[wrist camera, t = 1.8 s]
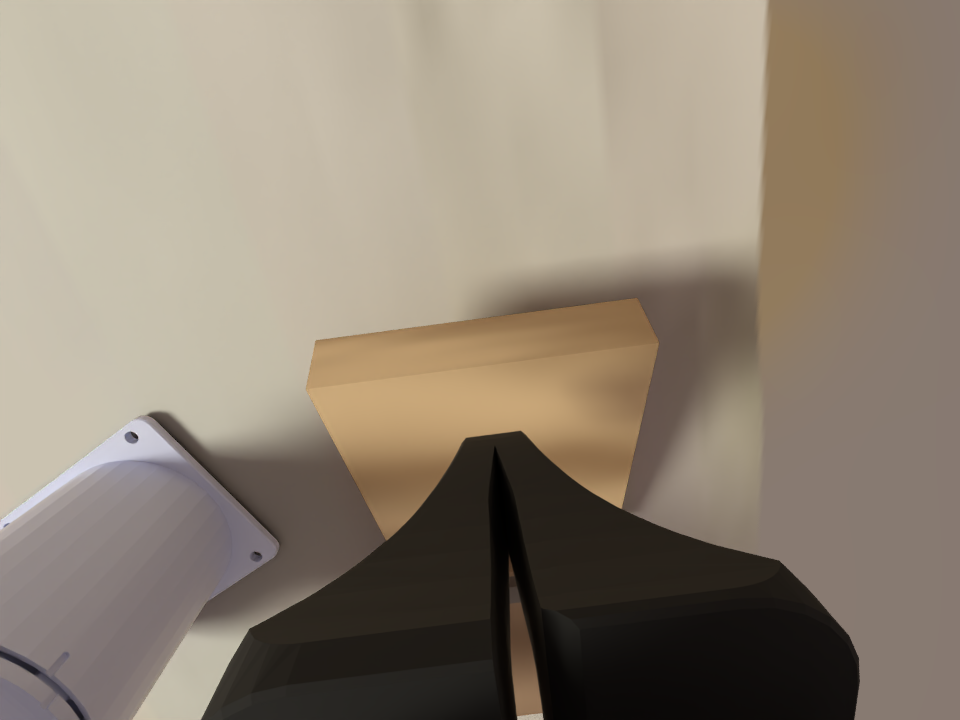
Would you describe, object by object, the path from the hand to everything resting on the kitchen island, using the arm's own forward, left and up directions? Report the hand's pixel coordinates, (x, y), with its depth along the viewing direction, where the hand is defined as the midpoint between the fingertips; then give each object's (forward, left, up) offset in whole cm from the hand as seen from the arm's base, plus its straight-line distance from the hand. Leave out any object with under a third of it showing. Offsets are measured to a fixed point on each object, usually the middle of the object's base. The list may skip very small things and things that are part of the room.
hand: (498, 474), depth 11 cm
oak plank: (-1, -2, -6) cm, 7 cm away
